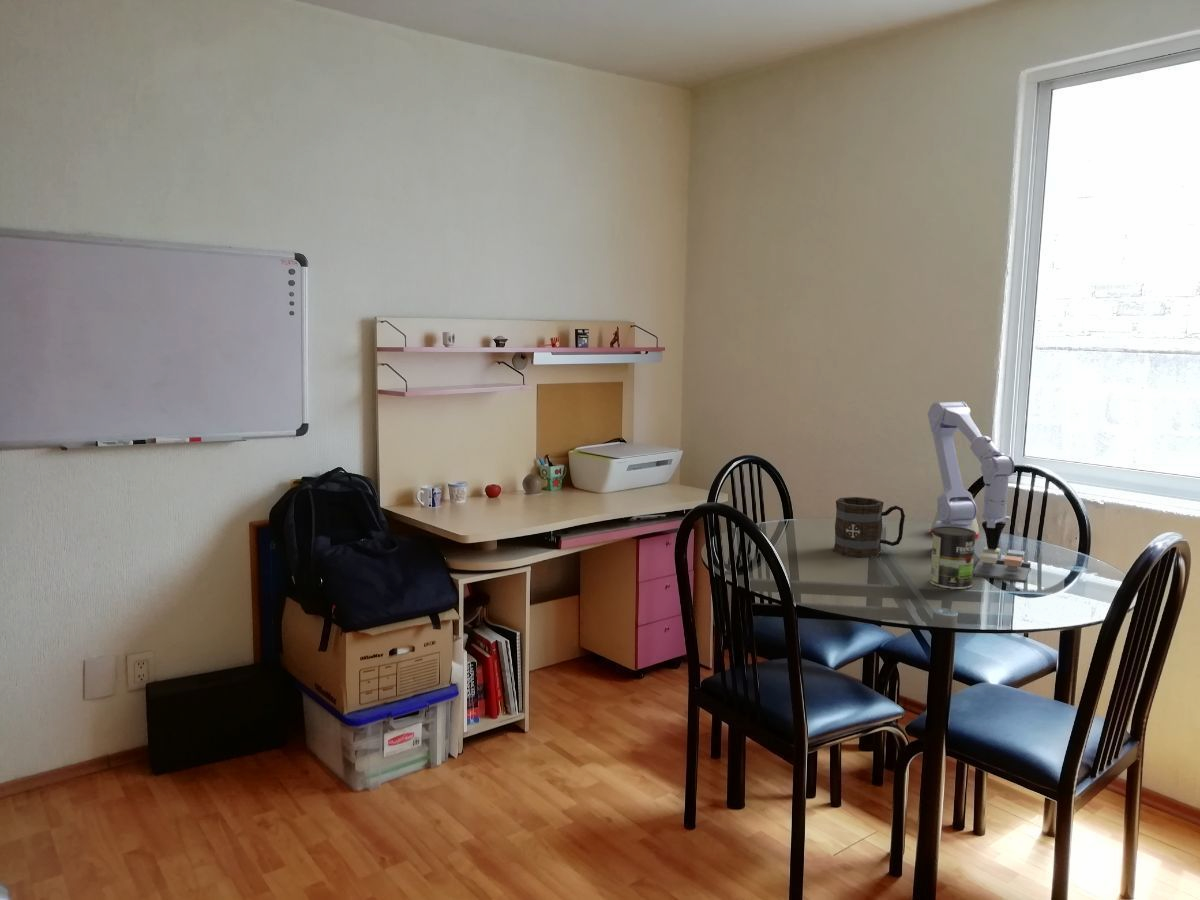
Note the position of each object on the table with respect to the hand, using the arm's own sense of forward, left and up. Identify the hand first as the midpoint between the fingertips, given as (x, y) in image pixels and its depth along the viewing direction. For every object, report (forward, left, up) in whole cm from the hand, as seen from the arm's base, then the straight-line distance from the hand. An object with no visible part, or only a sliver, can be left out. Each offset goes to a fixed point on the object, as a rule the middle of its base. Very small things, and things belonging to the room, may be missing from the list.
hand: (992, 548), depth 247 cm
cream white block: (0, 0, -3) cm, 3 cm away
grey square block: (+6, 0, -3) cm, 7 cm away
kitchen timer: (-14, +33, -6) cm, 37 cm away
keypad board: (+3, -3, -5) cm, 7 cm away
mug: (-33, -1, -6) cm, 34 cm away
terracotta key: (+6, -7, -3) cm, 10 cm away
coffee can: (-7, -22, -6) cm, 24 cm away
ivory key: (0, -7, -3) cm, 8 cm away
